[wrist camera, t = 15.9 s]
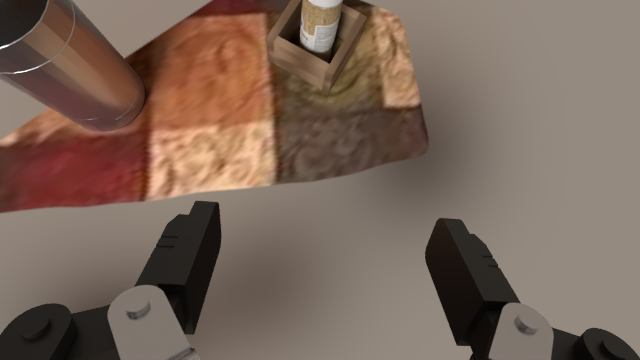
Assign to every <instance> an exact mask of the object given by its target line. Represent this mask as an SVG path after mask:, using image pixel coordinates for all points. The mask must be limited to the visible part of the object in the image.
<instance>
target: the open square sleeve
mask: <svg viewBox="0 0 640 360" xmlns="http://www.w3.org/2000/svg"><path fill="white" fill-rule="evenodd" d="M302 4H303V0H291V1H290V3H289V4H288V6H287V7H286V9H285V10H284V12H283V13H282V15H281V16H280V18H279V19H278V21H277V22H276V24H275V26H274V27H273V29H272V30H271V32H270V33H269V35H268V36H267V38H266V42H267V51H268V60H269V61H270V62H271V63H273V64H275V65H277V66H279V67H281V68H282V69H284V70H286V71H288V72H290V73H292V74H293V75H295V76H297V77H299V78H301V79H303V80H304V81H306V82H308V83H310V84H312V85H314V86H315V87H317V88H319V89H321V90H323V91H324V92H326V93H329V91H330V90H331V88H332V86H333V85H334V83H335V81H336V79H337V78H338V76H339V74H340V73H341V71H342V69H343V67H344V66H345V64H346V62H347V61H348V59H349V57H350V55H351V54H352V52H353V50H354V49H355V47H356V45H357V43H358V42H359V39H360V36H361V34H362V31H363V28H364V25H365V22H366V19H367V17H366V16H365V15H363V14H361V13H359V12H357V11H355V10H354V9H352V8H350V7H348V6H346V5H344V4H343V3H342V6H341V13H340V18H339V22H338V27H337V31H336V35H335V36H337V37H339V38H341V39H343V40H344V41H343V43H342V44H341V46H340V48H339V49H338V51H337V53H336V54H335V56H334V58H333V59H332V61H331V63H330V64H329V63H327V62H325V61H323V60H321V59H319V58H318V57H316V56H314V55H312V54H310V53H308V52H307V51H305V50H303V49H301V48H299V47H297V46H296V45H294V44H292V43H290V41H291V39H292V37H293V36H294V34H295V33H296V31H297V30H298V28H299V26H300V25H301V13H302Z"/></svg>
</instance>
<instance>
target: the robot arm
mask: <svg viewBox="0 0 640 360" xmlns="http://www.w3.org/2000/svg"><path fill="white" fill-rule="evenodd" d="M0 80H2V81H4V82H6V83H7V84H9V85H11V86H13V87H14V88H16V89H18V90H20V91H22V92H23V93H25V94H27V95H28V96H30V97H32V98H34V99H35V100H37V101H39V102H41V103H42V104H44V105H46V106H48V107H49V108H51V109H53V110H55V111H56V112H58V113H60V114H61V115H63V116H65V117H67V118H68V119H70V120H72V121H74V122H76V123H77V124H79V125H81V126H83V127H85V128H87V129H90V130H93V131H101V132H104V131H112V130H116V129H119V128H121V127H123V126H125V125H127V124H128V123H130V122H131V121H132V120H133V119H134V118H135V117H136V116H137V115H138V114H139V112H140V110H141V108H142V106H143V103H144V100H145V90H144V85H143V83H142V80H141V78H140V77H139V76H138V74H137V73H136V72H135V71H134V70H133V69H132V67H131V66H130V65H129V64H128V63H127V62H126V61H125V60H124V58H123V57H122V56H121V55H120V54H119V53H118V52H117V50H116V49H115V48H114V47H113V46H112V45H111V44H110V42H109V41H108V40H107V39H106V38H105V37H104V36H103V35H102V34H101V32H100V31H99V30H98V29H97V28H96V27H95V26H94V24H92V22H91V21H90V20H89V19H88V18H87V17H86V15H85V14H84V13H83V12H82V11H81V10H80V9H79V8H78V7H77V5H76V4H75V3H74V2H73V1H72V0H0ZM220 246H221V224H220V209H219V203H218V202H208V201H196V202H195V203H194V205H193V207H192V209H191V211H190V214H189V215H181V214H179V215H177V216H176V217H175V218H174V219H173V220H171V221H170V222H169V223H168V224H167V226H166V227H165V229H164V231H163V234H162V235H161V238H160V239H159V241H158V243H157V245H156V248H155V249H154V250H153V252H152V254H151V256H150V258H149V260H148V262H147V264H146V265H145V267H144V270H143V271H142V273H141V275H140V277H139V279H138V281H137V283H136V284H135V286H134V287H133V288H130V289H128V290H126V291H125V292H123V293H122V294H120V295H119V296H118V297H117V298H116V299H115V300H114V301H113V302H112V304H110V305H107V306H104V307H100V308H96V309H91V310H87V311H83V312H78V313H73V314H71V313H70V311H69V309H68V308H67V307H66V306H63V305H60V304H44V305H41V306H37V307H34V308H32V309H30V310H28V311H26V312H24V313H22V314H21V315H19V316H18V317H17V318H15V319H14V320H13V321H12V322H11V323H10V324H9V325H8V326H7V327H6V328H5V329H4V331H3V332H2V333H1V335H0V360H201V359H200V357H199V355H198V354H197V352H196V351H195V349H194V348H193V349H192V348H191V347H190V345H189V343H188V341H187V339H186V337H185V335H184V334H192V335H193V334H194V333H195V330H196V327H197V323H198V320H199V317H200V313H201V310H202V307H203V303H204V300H205V297H206V293H207V290H208V287H209V283H210V281H211V277H212V274H213V271H214V267H215V264H216V260H217V258H218V254H219V251H220ZM492 257H493V256H492V254H491V253H490V251H489V249H488V248H487V246H486V244H484V243H483V242H482V241H481V240H480V239H479V238H478V237H477V236H475V234H469V232H468V230H467V228H466V226H465V225H464V223H463V221H462V220H460V219H447V218H439V219H438V220H437V222H436V225H435V226H434V229H433V232H432V234H431V237H430V239H429V242H428V244H427V247H426V251H425V259H426V264H427V267H428V269H429V272H430V275H431V277H432V280H433V283H434V285H435V288H436V291H437V294H438V296H439V299H440V302H441V304H442V307H443V310H444V312H445V315H446V317H447V320H448V323H449V326H450V328H451V331H452V333H453V336H454V339H455V342H456V344H457V345H459V346H471V349H472V352H473V354H472V355H471V357H470V359H469V360H640V358H639V356H638V355H637V354H636V353H635V351H634V350H633V349H632V348H631V347H630V346H629V345H628V344H627V343H626V342H624V341H623V340H622V339H620V338H619V337H617V336H616V335H614V334H612V333H610V332H608V331H606V330H602V329H598V328H590V329H587V330H586V331H585V332H584V333H583V334H582V335H581V336H576V335H573V334H570V333H567V332H564V331H561V330H558V329H555V328H552V327H551V326H550V324H549V323H548V322H547V320H546V319H545V318H544V317H543V316H542V315H541V314H539V313H538V312H537V311H536V310H534V309H532V308H531V307H529V306H526V305H524V304H521V303H520V301H519V300H518V298H517V296H516V294H515V293H514V291H513V289H512V288H511V286H510V284H509V283H508V281H507V279H506V278H505V276H504V274H503V273H502V271H501V269H500V268H498V264H497V263H496V261H495V259H493V258H492Z"/></svg>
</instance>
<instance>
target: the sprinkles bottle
mask: <svg viewBox="0 0 640 360" xmlns="http://www.w3.org/2000/svg"><path fill="white" fill-rule="evenodd" d="M342 2H343V0H303V4H302V13H301V27H300V44H299V48H301V49H303V50H305V51H307V52H308V53H310V54H312V55H314V56H316V57H318V58H319V59H321V60H323V61H325V62H327V61H329V59H330V57H331V54H332V45H333V43H334V39H335V35H336V31H337V27H338V22H339V18H340V13H341V6H342Z"/></svg>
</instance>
